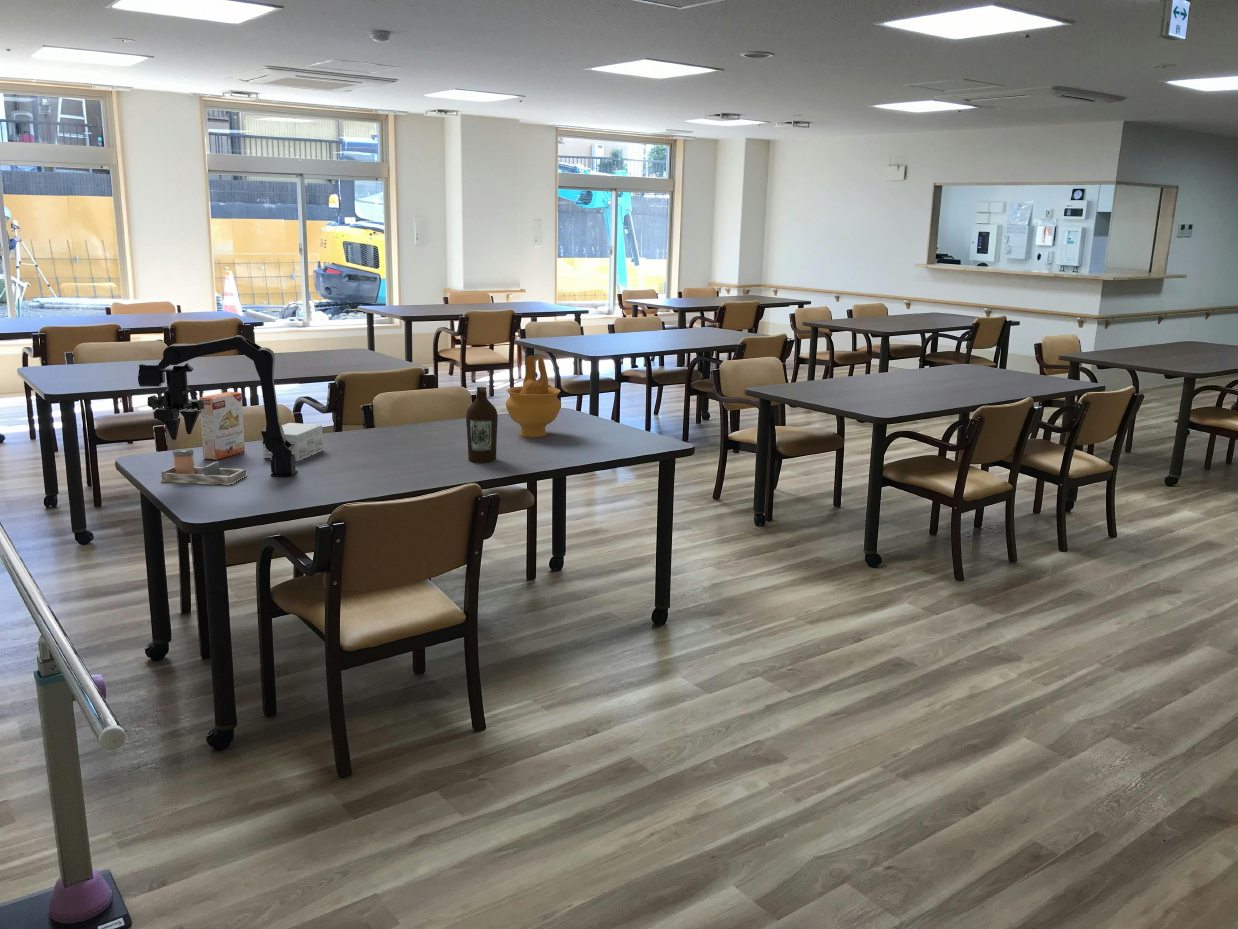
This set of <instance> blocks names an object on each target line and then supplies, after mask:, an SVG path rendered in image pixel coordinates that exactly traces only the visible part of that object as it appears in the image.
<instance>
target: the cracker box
mask: <svg viewBox="0 0 1238 929" xmlns="http://www.w3.org/2000/svg"><path fill="white" fill-rule="evenodd" d="M242 396H243V394H242V392H239V391H238V392H236V391H226V392H221V393H215V394H211V395H206V396H205V395H204V396H201V397H199V398H198V400H201V401H202V402H203V403H204V409H202V410H201V413H200V414H199V416H200V427H201V443H202V444H201V445H202V456H203V459H207V460H211V459H212V460H213V461H217V460H222V459H225V458H229V457H231V456H232V455H233V456H235V455H234V454H236V455H239V454H238V453H240V454H242V453H241V452H243V453H245V452H246V448H245V446H246V445H245V430H244V415H243V414H244V412H243V411H244V410H243V409H244V408H243V397H242ZM228 456H229V457H228ZM224 457H225V458H224ZM221 458H222V459H221Z"/></svg>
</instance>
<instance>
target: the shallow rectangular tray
mask: <svg viewBox="0 0 1238 929" xmlns="http://www.w3.org/2000/svg"><path fill="white" fill-rule="evenodd" d="M204 467H205V466H194V471H195V474H180V473H175V466H174V465H173V466H171V467H168V468H165V469H164V470H162V471H161V473H160V474H161V479H160V483H162V482H163V483H179V484H180V483H181V484H195V483H196V484H198V485H201V484H202V485H215V484H222V485H221V486H231V485H230V484H232V485H233V484H235V483H237V482H239V481H241V480H242V478H243V479H245V478H247V477H248V474H247V471H246V470H247V469H245V468H243V469H242V468H225V467H219V469H220V474H219V475H205V474H204ZM246 476H247V477H246ZM244 477H245V478H244ZM240 479H241V480H240ZM238 480H239V481H238ZM236 481H237V482H236Z"/></svg>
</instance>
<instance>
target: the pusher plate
mask: <svg viewBox="0 0 1238 929" xmlns="http://www.w3.org/2000/svg"><path fill="white" fill-rule="evenodd" d="M203 467H204V474H205V475H219V474H220V469H219V468H220V461H214V462H211V463H209V464H207V465H204V466H203Z"/></svg>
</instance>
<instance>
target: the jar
mask: <svg viewBox="0 0 1238 929" xmlns="http://www.w3.org/2000/svg"><path fill="white" fill-rule="evenodd" d="M172 456H173V466H175V473H180V474H195V471H194V467H195V459H194V449H192V448H178V449H174V450H172Z"/></svg>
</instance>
